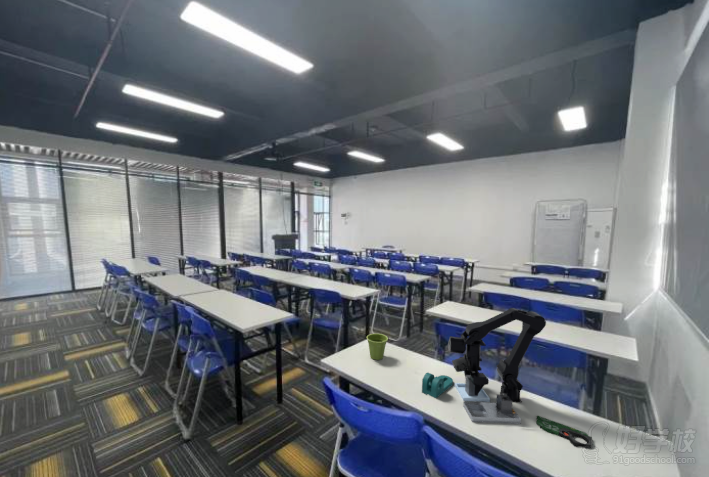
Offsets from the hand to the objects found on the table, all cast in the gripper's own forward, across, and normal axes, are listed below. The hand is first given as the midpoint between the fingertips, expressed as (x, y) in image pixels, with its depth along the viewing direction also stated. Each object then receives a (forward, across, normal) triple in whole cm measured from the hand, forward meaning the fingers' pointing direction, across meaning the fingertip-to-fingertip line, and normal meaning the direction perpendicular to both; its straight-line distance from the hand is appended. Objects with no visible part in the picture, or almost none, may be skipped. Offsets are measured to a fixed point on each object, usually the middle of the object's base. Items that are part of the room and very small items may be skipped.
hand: (471, 388), depth 123 cm
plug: (+2, 0, 0) cm, 2 cm away
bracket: (+3, -4, -13) cm, 14 cm away
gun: (+3, +22, +24) cm, 33 cm away
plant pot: (+3, -32, -40) cm, 51 cm away
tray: (+2, 0, 0) cm, 2 cm away
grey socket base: (+2, +14, +2) cm, 14 cm away
